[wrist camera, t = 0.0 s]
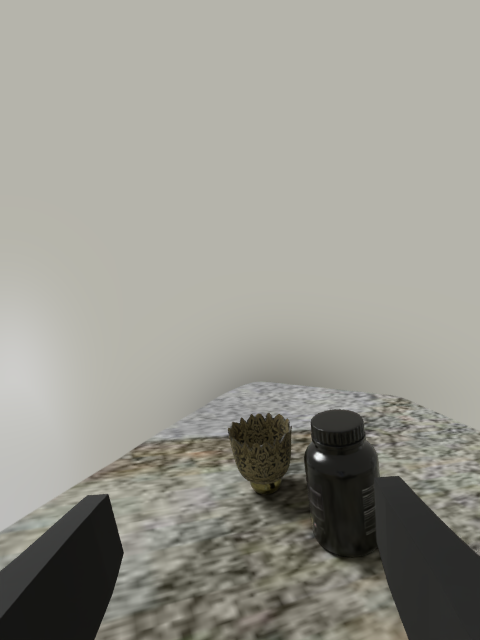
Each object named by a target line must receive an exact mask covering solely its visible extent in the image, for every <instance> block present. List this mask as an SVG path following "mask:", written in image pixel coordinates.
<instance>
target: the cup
mask: <svg viewBox="0 0 480 640" xmlns="http://www.w3.org/2000/svg"><path fill="white" fill-rule="evenodd" d="M265 420H266V421H265ZM289 423H290V422H289V420H288V418H287V419H286V420H285V419H284V417H283V416H282V415H280V414H278V415H277V416H276V417H275V418H273V417H272V415H271V414H270V413H268V414H267V415H266V418H265V419H264V417H263V416H262V415H261V414H257V415H256V416H253V415H252V414H251V415H250V417H249V419H248V420H247V423H246V421H245V420H244V419H243V418H241V420H240V423H236V422H232V424H231V427H230V428H228V433H229V439H230V443H231V447H232V451H233V455H234V458H235V462H236V465H237V467H238V469H239V471H240V473H241V474H242V476H243V477H244V478H245V479H247V480H248V481H250V483H251V486H252V488H253V489H254V491H255V492H257V493H259V494H271V493H274V492H275V491H277V490H278V489H279V487H280V485H281V478H282V477H283V476H284V475H285V474H286V472H287V470H288V468H289V464H290V458H291V429H292V426H291V427H290V426H289Z"/></svg>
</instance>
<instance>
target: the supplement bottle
mask: <svg viewBox="0 0 480 640" xmlns="http://www.w3.org/2000/svg"><path fill="white" fill-rule="evenodd" d="M311 430H312V433H311V437H312V442H311V443H310V444H309V446H308V447H307V449H306V451H305V455H304V463H305V472H306V480H307V489H308V497H309V506H310V514H311V522H312V529H313V533H314V536H315V538H316V540H317V541H318V542H319V543H320V545H321V546H323V547H324V548H325V549H326V550H328V551H330V552H332V553H334V554H337V555H340V556H345V557H358V556H363V555H366V554H368V553H371V552H372V551H374V550H375V549H376V548H377V547H378V545H377V539H376V514H375V489H374V478H375V477H380V473H379V461H378V455H377V452H376V451H375V449H374V447H373V446H372V445H371V444H370V443H369V442H368V441H366V434H365V431H364V421H363V419H362V417H361V416H360V415H359V414H357V413H355V412H353V411H349V410H341V409H339V410H336V409H335V410H328V411H324V412H321V413H318V414H317V415H315V416H314V417H313V418H312V419H311Z"/></svg>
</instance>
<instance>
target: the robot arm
mask: <svg viewBox="0 0 480 640" xmlns="http://www.w3.org/2000/svg"><path fill="white" fill-rule="evenodd" d="M374 489H375V514H376V539H377V545H378V548H379V552H380V556H381V560H382V564H383V568H384V571H385V575H386V578H387V582H388V585H389V588H390V591H391V593H392V596H393V599H394V602H395V604H396V607H397V610H398V612H399V615H400V618H401V620H402V623H403V626H404V628H405V631H406V634H407V636H408V639H409V640H480V556H479V555H478V554H477V553H475V552H474V551H473V550H472V549H471V548H470V547H469V546H468V545H467V544H466V543H465V542H464V541H463V540H461V539H460V538H459V537H458V536H457V535H456V534H455V533H454V532H453V531H452V530H451V529H450V528H449V527H448V526H447V525H446V524H445V523H444V522H443V521H442V520H441V519H440V518H439V517H438V516H437V515H436V514H435V513H434V512H433V511H432V510H431V509H430V508H429V507H428V506H427V505H426V504H425V503H424V502H423V501H422V500H421V499H420V498H419V497H418V496H417V495H416V494H415V492H414V491H413V490H412V489H411V488H410V487H409V486H408V485H407V484H406V483H405V482H404V481H403V480H402V479H401V478H400V477H399V476H391V477H375V478H374ZM123 554H124V552H123V548H122V544H121V540H120V537H119V533H118V529H117V525H116V521H115V518H114V514H113V510H112V506H111V502H110V499H109V495H108V494H102V495H87V496H86V497H85V498H84V499H83V500H81V501H80V502H79V503H78V504H77V505H75V506H74V507H73V508H72V509H71V510H70V511H69V512H67V513H66V514H65V515H64V516H63V517H62V518H61V519H60V520H59V521H57V522H56V523H55V524H54V525H53V526H52V527H51V528H50V529H49V530H47V531H46V532H45V533H44V534H43V535H42V536H41V537H40V538H38V539H37V540H36V541H35V542H34V543H33V544H32V545H30V546H29V547H28V548H27V549H26V550H25V551H24V552H23V553H21V554H20V555H19V556H18V557H17V558H16V559H14V560H13V561H12V562H11V563H10V564H8V565H7V566H6V567H5V568H4V569H2V570H1V571H0V640H94V639H95V637H96V634H97V632H98V629H99V627H100V624H101V622H102V619H103V617H104V614H105V612H106V609H107V607H108V604H109V601H110V599H111V596H112V594H113V590H114V587H115V583H116V580H117V577H118V573H119V569H120V565H121V561H122V558H123Z"/></svg>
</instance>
